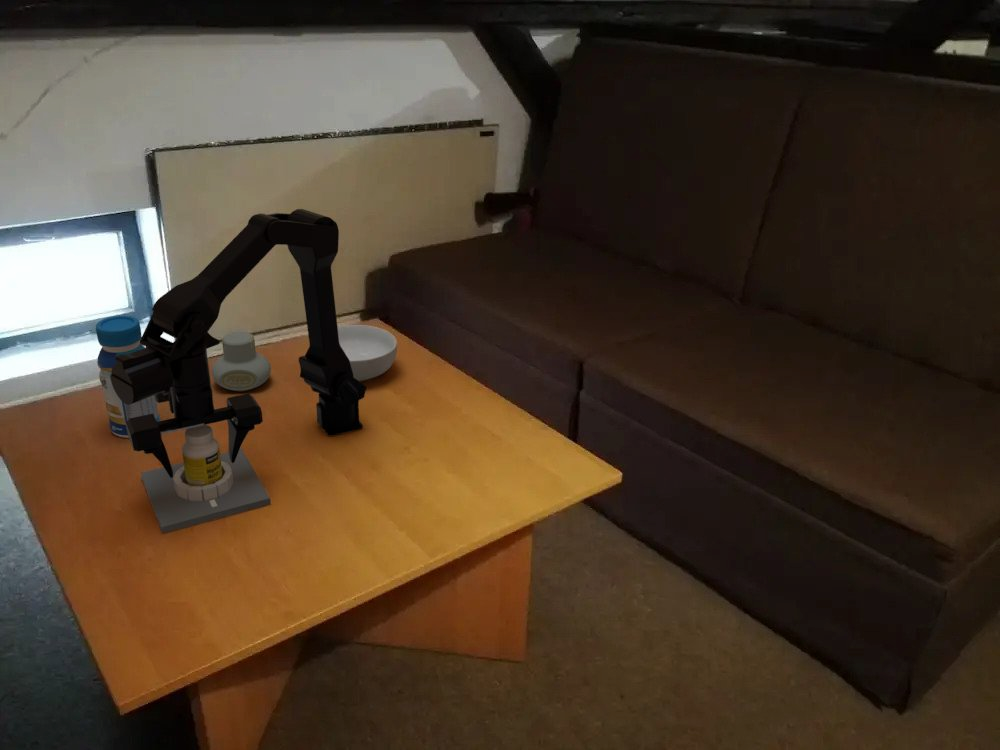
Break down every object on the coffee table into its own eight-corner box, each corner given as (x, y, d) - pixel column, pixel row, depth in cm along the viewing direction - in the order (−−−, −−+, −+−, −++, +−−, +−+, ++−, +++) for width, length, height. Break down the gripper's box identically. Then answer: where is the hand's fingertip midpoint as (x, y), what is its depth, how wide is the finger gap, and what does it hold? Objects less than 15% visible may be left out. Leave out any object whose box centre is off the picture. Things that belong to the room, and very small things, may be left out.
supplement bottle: (213, 497, 133) (205, 442, 128) (180, 491, 134) (171, 437, 129) (229, 477, 137) (223, 424, 133) (198, 473, 138) (190, 419, 134)
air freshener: (274, 373, 173) (269, 327, 168) (270, 393, 165) (265, 345, 161) (217, 375, 171) (211, 328, 166) (210, 395, 164) (204, 347, 159)
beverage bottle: (153, 439, 149) (135, 333, 140) (102, 439, 148) (81, 332, 139) (167, 415, 156) (151, 312, 147) (118, 415, 156) (99, 312, 147)
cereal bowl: (314, 396, 165) (312, 362, 162) (309, 358, 179) (307, 327, 176) (403, 389, 169) (402, 356, 166) (391, 352, 183) (390, 321, 180)
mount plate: (242, 454, 146) (240, 438, 144) (270, 504, 134) (269, 487, 132) (141, 478, 138) (138, 461, 137) (162, 533, 126) (159, 515, 125)
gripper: (238, 346, 137) (248, 430, 145) (112, 369, 129) (129, 458, 136) (259, 374, 129) (267, 463, 136) (125, 401, 120) (142, 494, 127)
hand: (202, 468), depth 134 cm, fingers open, 9 cm apart
